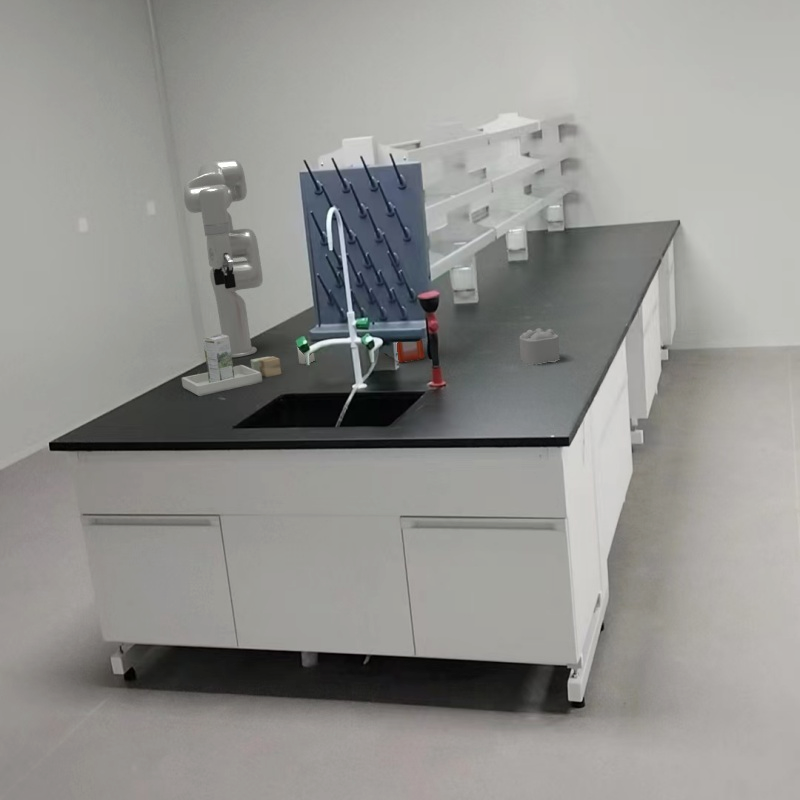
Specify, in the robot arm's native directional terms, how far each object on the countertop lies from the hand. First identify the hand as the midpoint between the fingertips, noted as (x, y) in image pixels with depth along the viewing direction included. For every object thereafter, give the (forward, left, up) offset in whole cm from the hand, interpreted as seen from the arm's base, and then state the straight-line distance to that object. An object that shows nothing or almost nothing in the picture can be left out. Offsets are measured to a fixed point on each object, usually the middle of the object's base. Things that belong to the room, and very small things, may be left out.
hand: (225, 286), depth 313 cm
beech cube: (+3, +9, -29) cm, 31 cm away
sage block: (-4, +9, -29) cm, 31 cm away
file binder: (+18, +48, -29) cm, 59 cm away
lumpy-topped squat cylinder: (+57, +73, -29) cm, 97 cm away
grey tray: (+3, -7, -29) cm, 30 cm away
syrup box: (+4, -7, -29) cm, 30 cm away
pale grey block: (-3, +24, -29) cm, 38 cm away
